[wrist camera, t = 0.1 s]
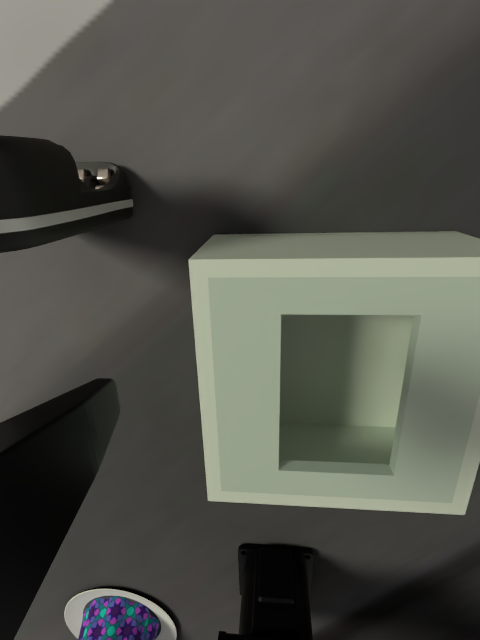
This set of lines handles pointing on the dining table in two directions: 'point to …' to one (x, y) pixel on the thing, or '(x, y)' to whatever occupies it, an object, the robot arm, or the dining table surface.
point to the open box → (339, 368)
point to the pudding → (116, 617)
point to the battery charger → (55, 193)
